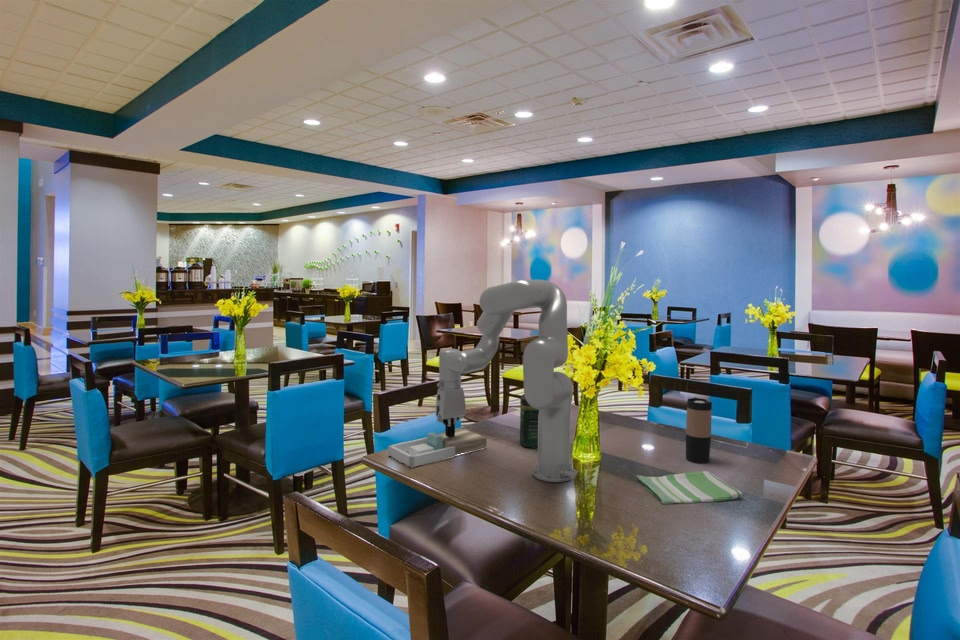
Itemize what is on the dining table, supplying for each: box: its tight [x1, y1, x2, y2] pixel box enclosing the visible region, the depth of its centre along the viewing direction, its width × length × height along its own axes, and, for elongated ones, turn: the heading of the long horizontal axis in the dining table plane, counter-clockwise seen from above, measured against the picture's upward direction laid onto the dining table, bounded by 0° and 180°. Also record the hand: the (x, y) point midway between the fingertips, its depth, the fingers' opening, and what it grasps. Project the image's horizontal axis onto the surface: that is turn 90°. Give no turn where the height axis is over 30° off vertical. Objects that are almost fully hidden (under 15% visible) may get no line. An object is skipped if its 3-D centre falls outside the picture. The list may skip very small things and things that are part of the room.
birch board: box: [439, 428, 488, 455], centre depth 185 cm, size 14×14×4 cm
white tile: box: [409, 444, 434, 456], centre depth 176 cm, size 6×6×2 cm
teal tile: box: [426, 431, 443, 451], centre depth 179 cm, size 6×6×2 cm
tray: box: [387, 436, 455, 467], centre depth 175 cm, size 15×17×4 cm
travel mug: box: [685, 397, 713, 465], centre depth 173 cm, size 8×8×20 cm
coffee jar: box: [519, 393, 539, 449], centre depth 189 cm, size 10×8×19 cm
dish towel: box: [636, 470, 743, 505], centre depth 148 cm, size 18×23×3 cm
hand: (450, 436), depth 182 cm, fingers closed
